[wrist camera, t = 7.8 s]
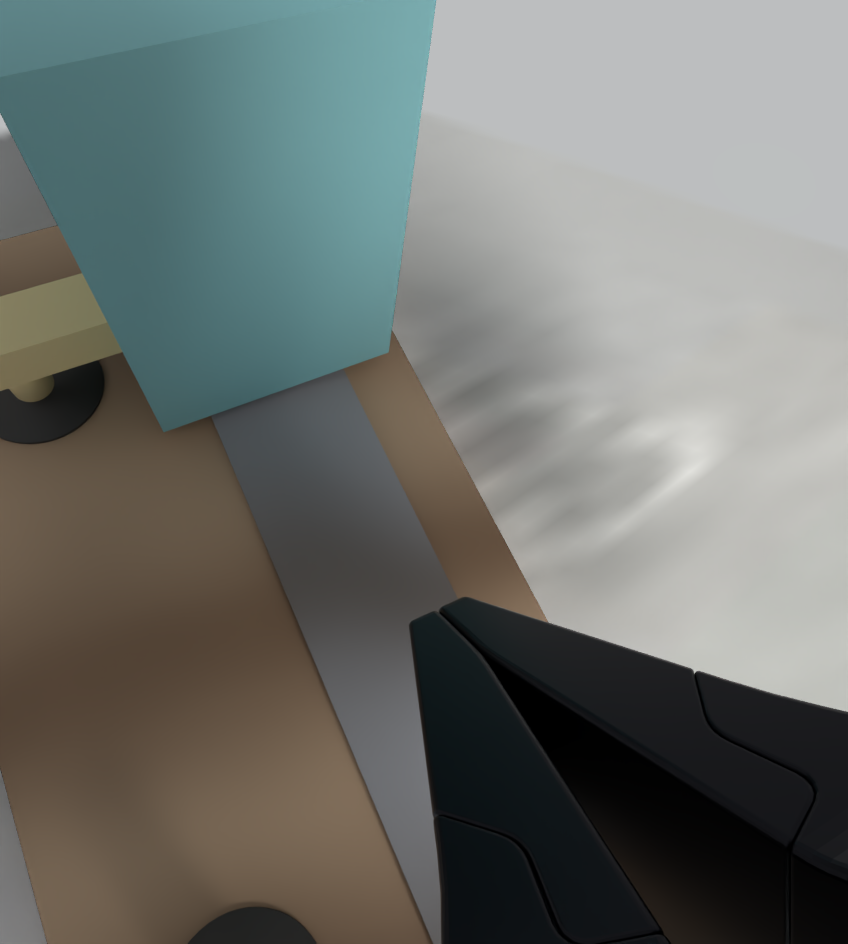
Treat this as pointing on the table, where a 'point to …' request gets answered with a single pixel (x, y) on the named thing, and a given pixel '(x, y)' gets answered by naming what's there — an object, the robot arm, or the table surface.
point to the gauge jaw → (213, 188)
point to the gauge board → (227, 649)
